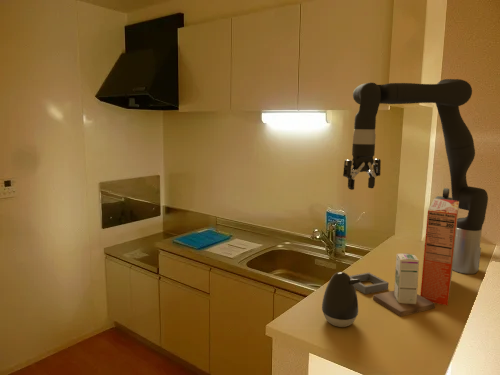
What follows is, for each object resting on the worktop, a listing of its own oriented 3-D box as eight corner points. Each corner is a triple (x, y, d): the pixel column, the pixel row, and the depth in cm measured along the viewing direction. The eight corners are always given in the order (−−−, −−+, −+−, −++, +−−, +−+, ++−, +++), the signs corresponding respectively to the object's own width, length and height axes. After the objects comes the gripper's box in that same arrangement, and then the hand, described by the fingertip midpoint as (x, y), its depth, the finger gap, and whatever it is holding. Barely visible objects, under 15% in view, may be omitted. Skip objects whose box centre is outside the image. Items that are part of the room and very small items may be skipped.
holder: (368, 278, 141) (369, 272, 141) (388, 289, 132) (388, 282, 132) (346, 282, 137) (346, 276, 137) (364, 294, 128) (365, 287, 128)
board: (405, 292, 130) (405, 288, 130) (434, 307, 119) (435, 303, 119) (373, 299, 124) (373, 295, 124) (400, 316, 114) (400, 311, 113)
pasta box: (427, 275, 144) (434, 198, 139) (451, 280, 140) (459, 200, 135) (420, 299, 125) (427, 210, 120) (447, 305, 121) (456, 213, 116)
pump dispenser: (352, 335, 103) (355, 283, 100) (315, 325, 108) (318, 274, 106) (362, 319, 111) (365, 270, 109) (328, 310, 117) (330, 263, 114)
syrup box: (416, 304, 118) (420, 260, 115) (397, 303, 119) (400, 258, 116) (411, 296, 123) (415, 253, 121) (392, 295, 124) (396, 252, 122)
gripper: (353, 143, 126) (351, 191, 128) (387, 142, 131) (384, 189, 134) (340, 142, 132) (338, 188, 135) (372, 141, 138) (370, 186, 140)
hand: (361, 188), depth 134 cm, fingers open, 8 cm apart
